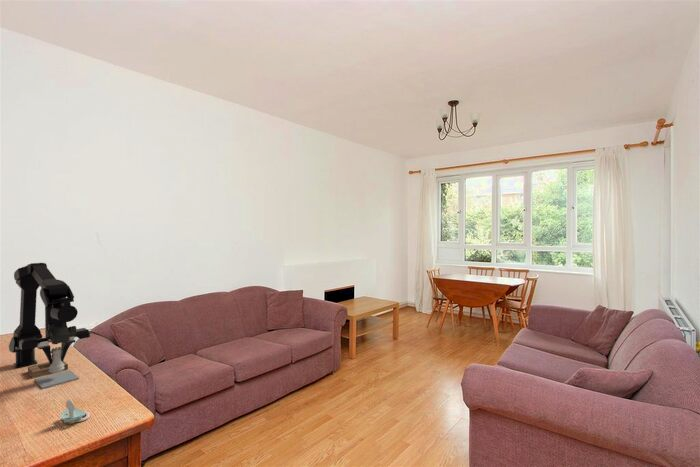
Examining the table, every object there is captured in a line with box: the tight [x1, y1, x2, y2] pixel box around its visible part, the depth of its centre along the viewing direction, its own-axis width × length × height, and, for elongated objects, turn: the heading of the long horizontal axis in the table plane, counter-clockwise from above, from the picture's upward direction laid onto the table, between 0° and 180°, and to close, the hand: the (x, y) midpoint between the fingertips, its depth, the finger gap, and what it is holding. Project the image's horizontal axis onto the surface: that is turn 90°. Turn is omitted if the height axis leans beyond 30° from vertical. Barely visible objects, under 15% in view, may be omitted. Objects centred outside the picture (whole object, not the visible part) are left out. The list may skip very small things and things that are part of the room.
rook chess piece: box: [49, 346, 65, 374], centre depth 124 cm, size 4×4×8 cm
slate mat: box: [34, 369, 80, 390], centre depth 124 cm, size 12×10×1 cm
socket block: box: [27, 360, 69, 379], centre depth 132 cm, size 10×10×2 cm
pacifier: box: [60, 398, 91, 424], centre depth 96 cm, size 7×6×6 cm
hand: (56, 362), depth 124 cm, fingers closed on rook chess piece, 3 cm apart
